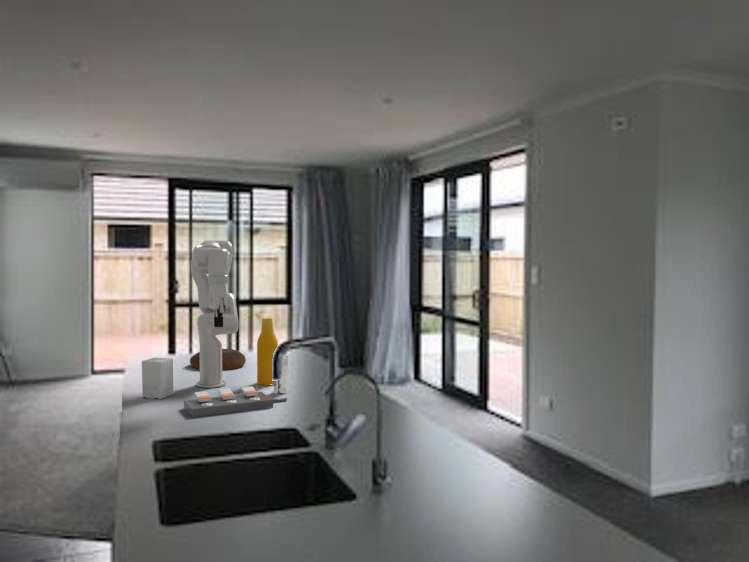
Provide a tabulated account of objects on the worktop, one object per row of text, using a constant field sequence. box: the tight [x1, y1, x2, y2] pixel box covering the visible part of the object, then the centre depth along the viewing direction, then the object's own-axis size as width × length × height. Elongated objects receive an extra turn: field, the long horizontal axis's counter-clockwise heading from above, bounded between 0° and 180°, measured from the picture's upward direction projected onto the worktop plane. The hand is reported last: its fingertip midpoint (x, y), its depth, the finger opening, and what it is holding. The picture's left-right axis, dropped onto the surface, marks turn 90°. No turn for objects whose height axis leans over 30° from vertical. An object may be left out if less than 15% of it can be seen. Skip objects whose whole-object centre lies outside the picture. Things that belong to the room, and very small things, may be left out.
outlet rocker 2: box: [240, 386, 259, 397], centre depth 242 cm, size 7×4×1 cm, turn 29°
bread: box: [189, 348, 247, 371], centre depth 318 cm, size 28×27×9 cm
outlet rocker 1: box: [218, 387, 236, 400], centre depth 238 cm, size 7×4×1 cm, turn 29°
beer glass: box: [272, 355, 290, 394], centre depth 261 cm, size 7×7×15 cm
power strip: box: [183, 391, 288, 418], centre depth 238 cm, size 14×38×4 cm, turn 119°
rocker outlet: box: [194, 390, 211, 402], centre depth 234 cm, size 7×4×1 cm, turn 29°
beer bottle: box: [256, 317, 279, 386], centre depth 277 cm, size 9×9×29 cm
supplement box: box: [141, 357, 174, 400], centre depth 253 cm, size 9×9×15 cm
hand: (218, 326), depth 246 cm, fingers closed
